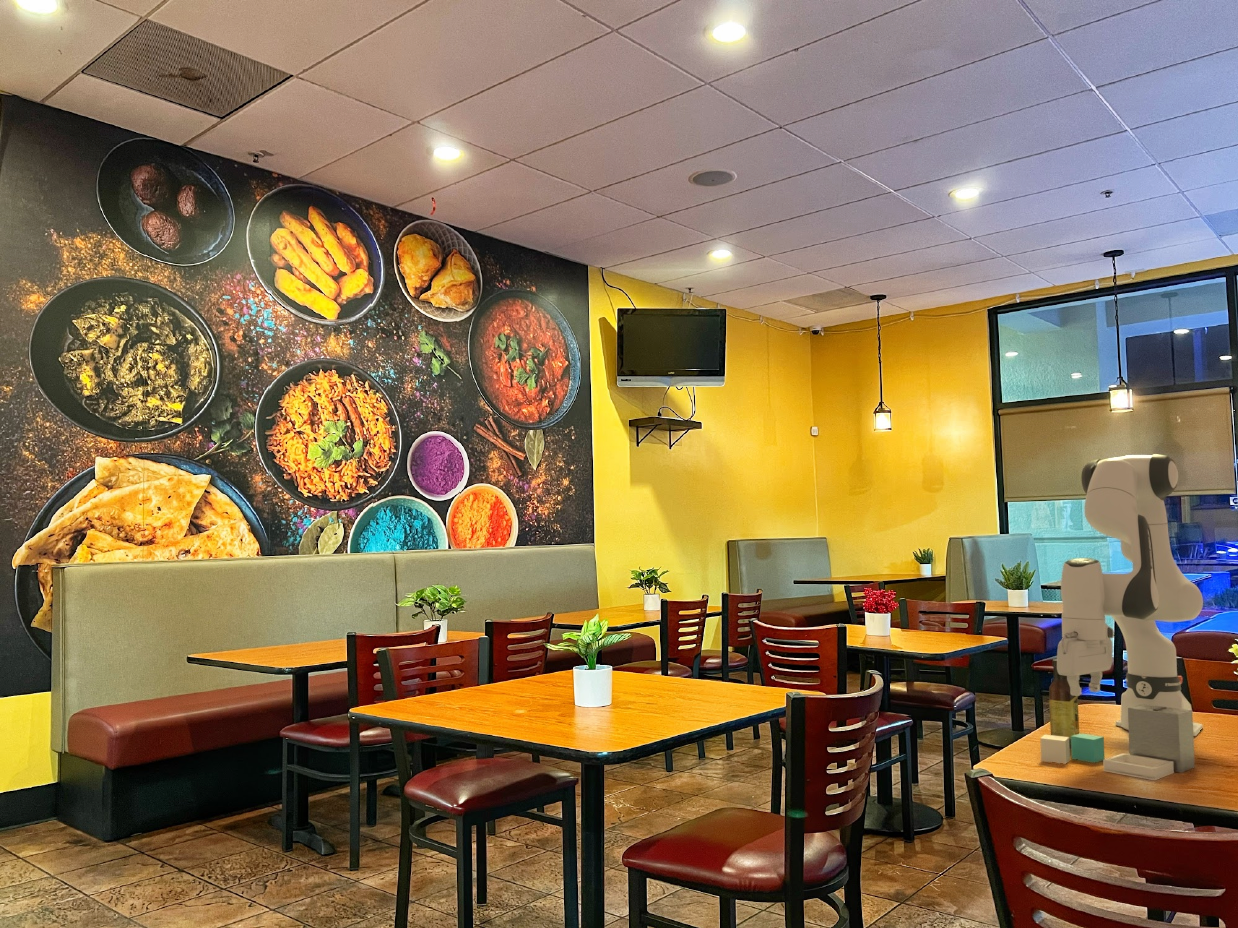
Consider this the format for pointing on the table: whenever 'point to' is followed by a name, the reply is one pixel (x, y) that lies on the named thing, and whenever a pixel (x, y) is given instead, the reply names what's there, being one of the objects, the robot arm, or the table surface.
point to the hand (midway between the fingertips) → (1085, 693)
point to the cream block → (1055, 749)
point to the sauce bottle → (1062, 707)
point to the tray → (1138, 766)
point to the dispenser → (1162, 734)
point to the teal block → (1087, 747)
